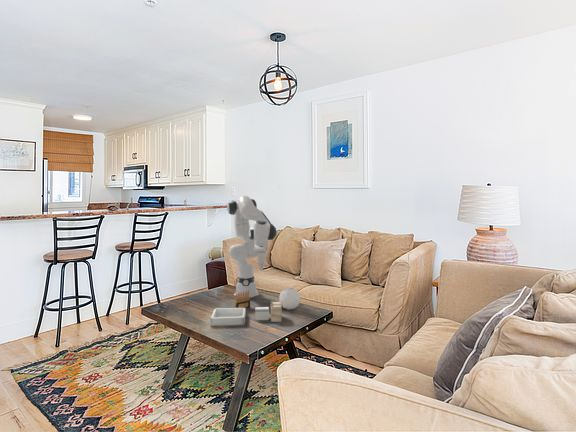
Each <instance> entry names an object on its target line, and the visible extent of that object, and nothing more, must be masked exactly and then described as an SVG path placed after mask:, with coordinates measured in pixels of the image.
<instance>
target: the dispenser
mask: <svg viewBox="0 0 576 432" xmlns="http://www.w3.org/2000/svg"><path fill="white" fill-rule="evenodd" d="M270 319H271V320H270V321H271V323H272V322H282V305H281V302H279V301H272V300H270Z"/></svg>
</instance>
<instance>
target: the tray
mask: <svg viewBox="0 0 576 432" xmlns="http://www.w3.org/2000/svg"><path fill="white" fill-rule="evenodd" d="M246 311H247V309H246V308H235V307H219V308H218V307H217V308H214V309H213V312H212V314H211V316H210V327H224V326H225V327H226V326H227V327H228V326H231V327H232V326H245V321H246V315H247V314H246V313H247V312H246Z"/></svg>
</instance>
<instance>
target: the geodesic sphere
mask: <svg viewBox="0 0 576 432" xmlns="http://www.w3.org/2000/svg"><path fill="white" fill-rule="evenodd" d="M278 299H279V301H278V302H281V308H283V309H285V310H288V311H289V310H294V309H296V308H297V307H298V306H299V305H300V303H301V302H300V301H301V297H300V293H299V291H298V290H297V289H295V288H294V287H287V288H284V289H283V290H282V291H281V292H280V294H279V297H278Z"/></svg>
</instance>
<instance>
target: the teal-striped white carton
mask: <svg viewBox="0 0 576 432" xmlns="http://www.w3.org/2000/svg"><path fill="white" fill-rule="evenodd" d="M254 308H255V309H254V310H255V311H254V313H255V319H254V320H255V321H269V320H270V313H269V311H270V308H269V306H261V307H260V306H259V307H254Z"/></svg>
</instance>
